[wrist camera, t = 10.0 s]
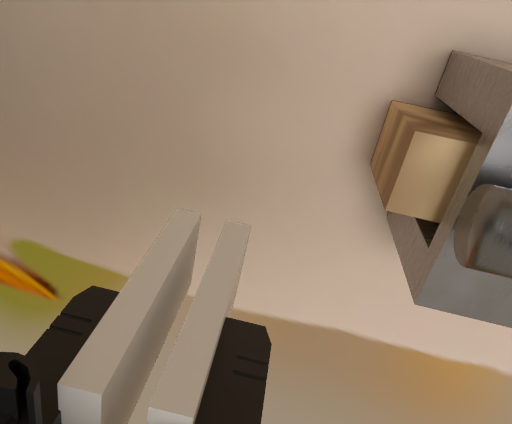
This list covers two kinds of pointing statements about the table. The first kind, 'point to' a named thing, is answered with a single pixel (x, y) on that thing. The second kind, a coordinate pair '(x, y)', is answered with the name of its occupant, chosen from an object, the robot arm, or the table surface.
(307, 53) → the table surface
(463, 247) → the housing
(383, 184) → the plug
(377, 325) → the table surface
